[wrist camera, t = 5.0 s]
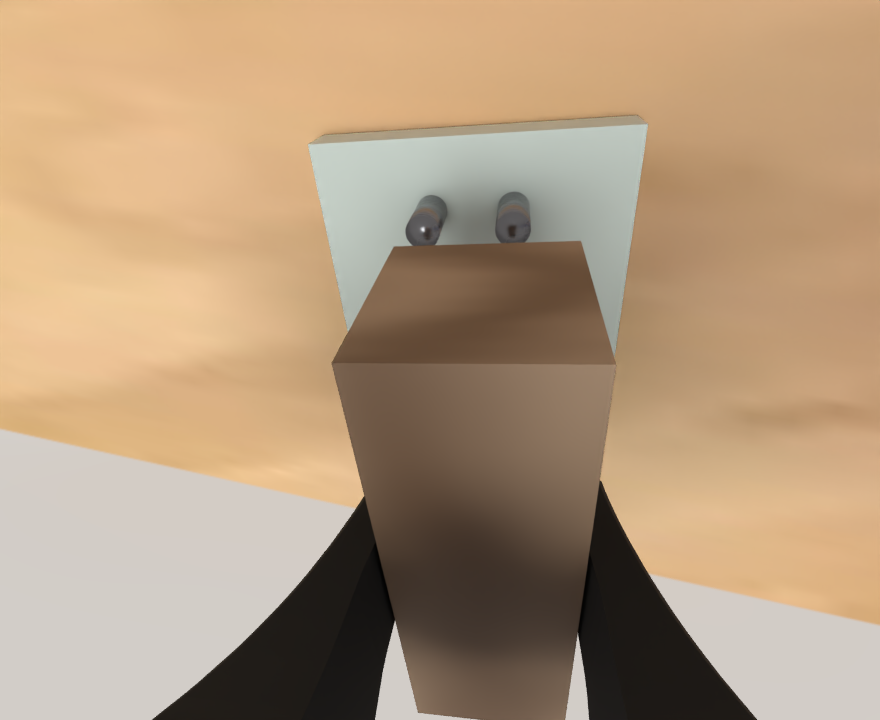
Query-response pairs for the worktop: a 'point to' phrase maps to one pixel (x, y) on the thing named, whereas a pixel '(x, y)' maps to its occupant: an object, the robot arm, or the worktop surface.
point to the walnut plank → (482, 464)
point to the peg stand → (482, 195)
